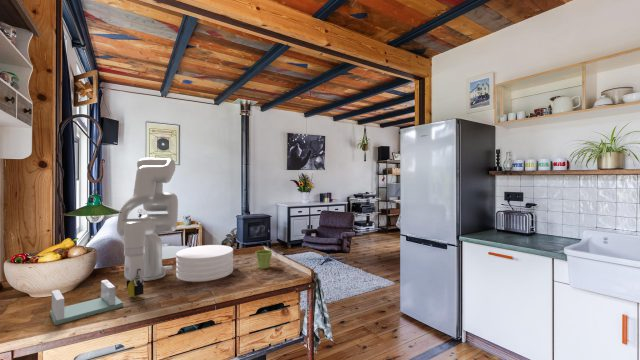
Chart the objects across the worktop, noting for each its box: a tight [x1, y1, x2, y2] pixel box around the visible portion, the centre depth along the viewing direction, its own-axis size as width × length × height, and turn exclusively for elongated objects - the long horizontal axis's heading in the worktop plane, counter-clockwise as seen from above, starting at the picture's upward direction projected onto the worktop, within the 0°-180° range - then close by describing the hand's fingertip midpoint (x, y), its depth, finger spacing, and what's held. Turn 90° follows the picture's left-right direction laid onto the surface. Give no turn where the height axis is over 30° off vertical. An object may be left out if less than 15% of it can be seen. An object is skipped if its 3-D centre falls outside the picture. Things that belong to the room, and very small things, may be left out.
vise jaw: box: [100, 279, 116, 306], centre depth 118 cm, size 2×12×7 cm, turn 48°
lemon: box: [126, 280, 138, 299], centre depth 126 cm, size 6×6×8 cm
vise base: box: [49, 289, 124, 326], centre depth 114 cm, size 20×12×8 cm, turn 138°
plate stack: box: [175, 244, 234, 282], centre depth 159 cm, size 28×28×12 cm
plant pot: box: [254, 249, 273, 270], centre depth 167 cm, size 9×9×9 cm
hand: (134, 292), depth 125 cm, fingers open, 9 cm apart
